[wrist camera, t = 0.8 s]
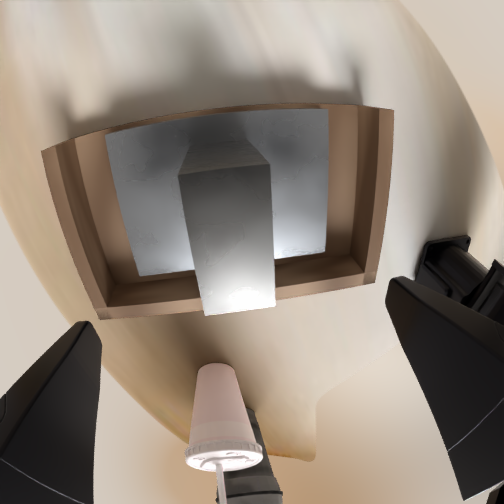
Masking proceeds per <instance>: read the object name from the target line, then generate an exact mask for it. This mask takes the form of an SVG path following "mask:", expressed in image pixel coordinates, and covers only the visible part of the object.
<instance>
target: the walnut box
mask: <svg viewBox="0 0 504 504" xmlns="http://www.w3.org/2000/svg"><path fill="white" fill-rule="evenodd" d="M281 108H323V109H328V126H329V166H328V204H327V226H326V243H325V252H322V253H315V254H308V255H301V256H293V257H286V258H279V259H274V269H275V300H281V299H287V298H293V297H300V296H306V295H312V294H317V293H323V292H329V291H334V290H340V289H345V288H351V287H356V286H361V285H366V284H371V283H375V279H376V274H377V269H378V264H379V258H380V253H381V247H382V241H383V235H384V228H385V221H386V214H387V206H388V198H389V188H390V178H391V166H392V152H393V131H394V110H390V109H384V108H377V107H371V106H363V105H347V104H317V103H295V104H265V105H248V106H236V107H225V108H216V109H208V110H200V111H193V112H186V113H179V114H173V115H167V116H162V117H157V118H151V119H146V120H142V121H137V122H132V123H128V124H124V125H120V126H115V127H111V128H108V129H104V130H100V131H96V132H93V133H89V134H86V135H83V136H79V137H76V138H73V139H70V140H67V141H64V142H62V143H59V144H57V145H54V146H52V147H50V148H47V149H45V150H43V151H41V153H42V158H43V163H44V167H45V171H46V176H47V180H48V183H49V187H50V191H51V195H52V198H53V202H54V205H55V208H56V212H57V215H58V218H59V221H60V224H61V227H62V230H63V233H64V236H65V239H66V242H67V245H68V247H69V250H70V253H71V255H72V258H73V260H74V263H75V266H76V268H77V270H78V273H79V275H80V278H81V280H82V282H83V285H84V287H85V289H86V291H87V294H88V296H89V298H90V300H91V302H92V305H93V307H94V309H95V311H96V313H97V315H98V317H99V319H100V320H105V319H118V318H131V317H142V316H153V315H163V314H173V313H183V312H192V311H200V310H204V309H203V304H202V300H201V296H200V291H199V286H198V282H197V277H196V273H195V270H187V271H179V272H171V273H163V274H155V275H147V276H139V273H138V269H137V266H136V263H135V260H134V257H133V253H132V250H131V247H130V243H129V240H128V236H127V233H126V229H125V225H124V222H123V218H122V214H121V210H120V206H119V202H118V198H117V194H116V189H115V185H114V180H113V176H112V171H111V166H110V161H109V156H108V150H107V145H106V139H105V135H106V134H108V133H111V132H114V131H119V130H123V129H127V128H131V127H136V126H141V125H146V124H150V123H156V122H161V121H167V120H172V119H178V118H185V117H192V116H199V115H206V114H215V113H224V112H234V111H246V110H260V109H281Z"/></svg>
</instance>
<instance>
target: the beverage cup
mask: <svg viewBox="0 0 504 504" xmlns="http://www.w3.org/2000/svg"><path fill="white" fill-rule="evenodd" d="M246 411H247V415H248V418H249V421H250V424H251V427H252V430H253V433H254V437H255V440H256V443H258V444H259V445H260V446H262V455H263V459H262V460H261V461H260V462H259V463H258V464H256V465H254V466H251V467H248V468H244V469H240V470H234V471H223V475H224V484H225V492H226V500H227V504H282V495H283V492H282V491H280V487H279V485H278V482H277V480H276V478H275V477H274V475H273V472H272V468H271V465H270V462H269V459H268V455H267V452H266V449H265V445H264V442H263V438H262V435H261V432H260V428H259V425H258V422H257V420H256V417H255V413H254V411H252V410H250V409H247V408H246ZM216 502H217V504H220V501H219V493H218V486H217V498H216Z"/></svg>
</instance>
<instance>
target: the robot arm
mask: <svg viewBox="0 0 504 504" xmlns="http://www.w3.org/2000/svg"><path fill="white" fill-rule="evenodd" d="M470 242H471V238H470V237H469V236H468V235H466V236H460V237H454V238H448V239H441V240H435V241H429V242H427V243H426V245H425V247H424V251H423V255H422V259H421V263H420V267H419V270H418V274H417V278H416V281H413V280H411V279H408V278H406V277H404V276H399V277H395V278H392V279H391V280H390V282H389V286H388V290H387V294H386V298H385V304H386V308H387V310H388V313H389V315H390V318H391V320H392V323H393V325H394V328H395V330H396V333H397V336H398V338H399V341H400V343H401V346H402V348H403V350H404V352H405V354H406V356H407V358H408V360H409V362H410V365H411V367H412V369H413V371H414V373H415V375H416V377H417V379H418V382H419V384H420V386H421V388H422V390H423V393H424V395H425V397H426V400H427V402H428V404H429V407H430V409H431V411H432V414H433V416H434V419H435V421H436V423H437V426H438V428H439V431H440V434H441V436H442V439H443V441H444V444H445V447H446V449H447V451H448V455H449V458H450V461H451V464H452V467H453V470H454V473H455V476H456V479H457V482H458V485H459V489H460V492H461V495H462V498H463V500H464V501H465V500H467V499H469V498H472V497H474V496H476V495H478V494H480V493H482V492H484V491H486V490H488V489H490V488H492V487H493V486H495V485H497V484H499V483H500V482H502V481H503V482H502V483H501V484H500V485H499V486H497V487H496V488H495V489H494V490H493V491H491V492H490V494H489V497H488V500H487V503H486V504H504V265H502V264H501V263H499V262H498V261H497V260H495V259H494V261H493V263H492V266H491V268H490V270H488V269H487V268H485V267H484V266H483V265H482V264H481V263H480V262H479V261H477V260H476V259H475V258H474V257H473V256H472V255H471V254H469V253H468V248H469V245H470ZM101 355H102V343H101V340H100V338H99V336H98V334H97V333H96V331H95V329H94V327H93V325H92V324H91V323H90V322H89V321H79V322H76V323H75V324H74V325H73V326H72V327H71V328H70V329H69V330H68V331H67V332H66V333H65V334H64V335H63V336H61V337H60V338H59V339H58V340H57V341H56V342H55V343H54V344H53V345H52V346H51V347H50V348H49V349H48V350H47V351H46V352H45V353H44V354H43V355H42V356H41V357H40V358H39V359H38V360H37V361H36V362H35V363H34V364H33V365H32V366H31V367H30V368H29V369H28V370H27V371H26V372H25V373H24V374H23V375H22V376H21V377H20V378H19V379H18V380H17V381H16V382H15V383H14V384H13V386H12V387H11V388H10V389H9V390H8V391H7V392H6V394H4V395H3V396H2V397H1V399H0V504H94V501H93V469H94V446H95V432H96V419H97V410H98V401H99V392H100V373H101Z"/></svg>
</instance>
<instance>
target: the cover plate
mask: <svg viewBox="0 0 504 504" xmlns="http://www.w3.org/2000/svg"><path fill="white" fill-rule="evenodd" d="M105 139H106V145H107V150H108V156H109V161H110V166H111V171H112V176H113V180H114V185H115V189H116V194H117V198H118V202H119V206H120V210H121V214H122V218H123V222H124V225H125V229H126V233H127V236H128V240H129V243H130V247H131V250H132V253H133V257H134V260H135V263H136V266H137V269H138V273H139V276H147V275H155V274H163V273H171V272H179V271H187V270H195V273H196V277H197V282H198V286H199V291H200V296H201V300H202V304H203V309H204V313H205V316H208V315H216V314H224V313H232V312H239V311H246V310H253V309H260V308H267V307H274V306H276V305H275V269H274V259H279V258H286V257H293V256H301V255H308V254H315V253H322V252H325V243H326V226H327V204H328V166H329V126H328V109H323V108H281V109H260V110H246V111H234V112H224V113H215V114H206V115H199V116H192V117H185V118H178V119H172V120H167V121H161V122H156V123H150V124H146V125H141V126H136V127H131V128H127V129H123V130H119V131H114V132H111V133H108V134H106V135H105Z"/></svg>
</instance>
